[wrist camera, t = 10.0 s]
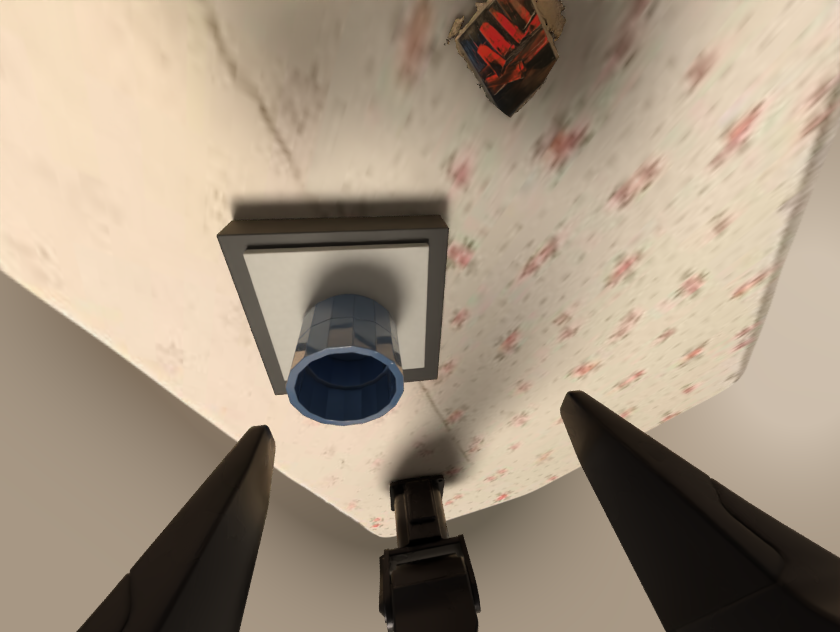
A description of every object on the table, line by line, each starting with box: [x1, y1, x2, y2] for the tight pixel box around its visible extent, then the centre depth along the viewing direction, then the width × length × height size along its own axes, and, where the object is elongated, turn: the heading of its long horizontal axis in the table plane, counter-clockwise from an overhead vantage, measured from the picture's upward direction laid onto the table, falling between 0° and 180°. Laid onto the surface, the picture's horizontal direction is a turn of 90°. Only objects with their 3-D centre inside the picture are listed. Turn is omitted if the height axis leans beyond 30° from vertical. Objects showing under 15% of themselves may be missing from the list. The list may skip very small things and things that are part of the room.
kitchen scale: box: [217, 215, 449, 395], centre depth 20 cm, size 12×12×3 cm
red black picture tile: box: [444, 0, 566, 117], centre depth 14 cm, size 5×5×1 cm
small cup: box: [285, 294, 404, 426], centre depth 17 cm, size 6×6×5 cm
